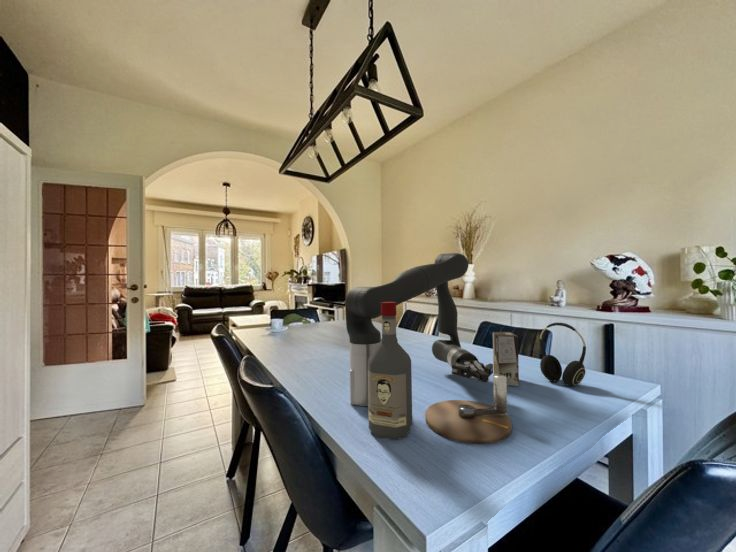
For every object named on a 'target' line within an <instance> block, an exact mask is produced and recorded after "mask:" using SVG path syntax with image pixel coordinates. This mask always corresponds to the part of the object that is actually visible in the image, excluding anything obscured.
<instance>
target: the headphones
mask: <svg viewBox="0 0 736 552" xmlns="http://www.w3.org/2000/svg"><path fill="white" fill-rule="evenodd" d="M555 326H561V327H565V328H568V329H570V330H572V331H573V332H575V333H576V334H577V335H578V336H579V338H580V339H581V342H582V345H583V346H582V350H581V351H582V352H581V354H580V358H579V360H572V361H571V362H569V363H568V364H567V365H566V366H565V368H564V370H563V367H562V364H561V363H560V361H559V359H558V358H557V357H555V355H552V354H547V353H546V349H545V346H544V342H543V338H542V336H543V334H544V333H545V331H546V330H547V329H548V328H551V327H555ZM539 346H540V352H541V355H542V358H541V360H540V363H539V368H540V371H541V374H542V375H543V376H544V378H545V379H547V380H548V381H550V382H558V381H559V380H562V382H563V384H564V385H566V386H567V387H574V386H578V385H580V383H582V381H583V380H584V378H585V376H586V367H585V365H584V361H585V357H586V354H587V353H586V351H587V345H586V342H585V340H584V338H583V337H582V335H581V334H580V333H579V332H578V330H577V329H576V328H575V327H573V326H572V325H570V324H568V323H565V322H553V323H549V324H548V325H547V326H546V327H545V328H543V330H542V331H541V333H540V336H539Z"/></svg>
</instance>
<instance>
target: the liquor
mask: <svg viewBox="0 0 736 552" xmlns="http://www.w3.org/2000/svg"><path fill="white" fill-rule="evenodd" d="M380 317H381V344H380V345H379V346H378V348H377V349H376V350H375V351H374V353H373V354H372V355H371V356H370V358H369V360H368V406H367V407H368V412H367V413H368V429H369V430H370V432H371V433H372V435H374V436H375V437H377V438H384V439H389V440H395V441H397V440H402V439H404V438H406V437H407V435H408V433H409V432H410V429H412V425H413V388H412V387H413V384H412V383H413V381H412V380H413V379H412V377H413V376H412V375H413V374H412V359H411V357H410V354H409V353H407V351H406V350H405V349H404V348H403V346H401V344H400V343H399V342H398V340H399V339H398V338H397V319H396V317H397V306H396V302H381V316H380Z"/></svg>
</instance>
